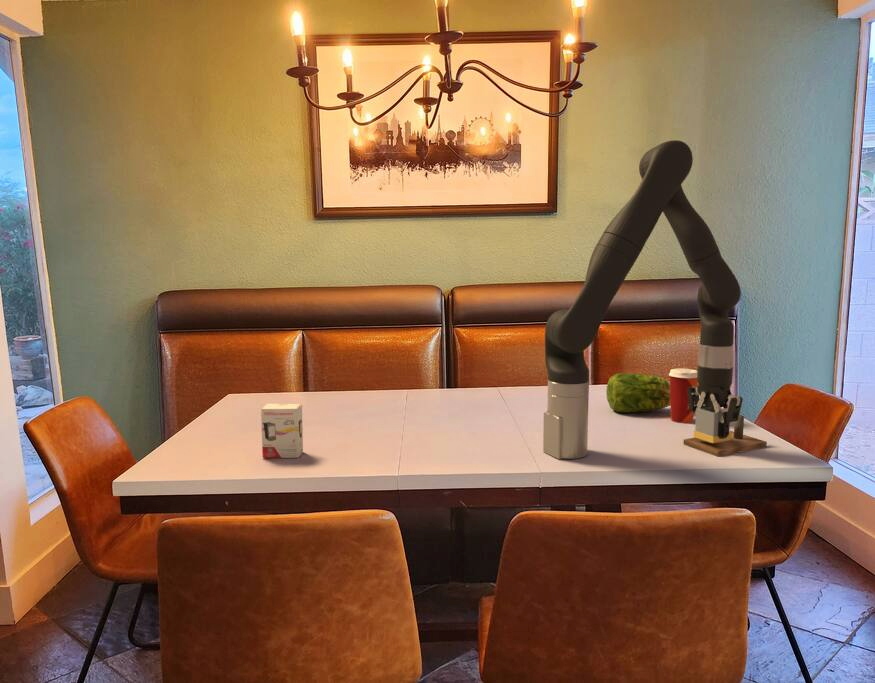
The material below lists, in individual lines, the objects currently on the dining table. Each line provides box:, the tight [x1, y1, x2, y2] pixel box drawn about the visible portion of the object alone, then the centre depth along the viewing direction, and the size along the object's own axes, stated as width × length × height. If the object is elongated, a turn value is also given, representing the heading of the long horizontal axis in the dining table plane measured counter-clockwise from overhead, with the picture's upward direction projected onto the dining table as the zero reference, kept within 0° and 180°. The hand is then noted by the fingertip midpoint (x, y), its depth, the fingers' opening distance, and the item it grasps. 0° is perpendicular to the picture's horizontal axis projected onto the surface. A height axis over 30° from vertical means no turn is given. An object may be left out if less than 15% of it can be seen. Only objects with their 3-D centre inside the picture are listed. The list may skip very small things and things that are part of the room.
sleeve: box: [693, 407, 731, 443], centre depth 142 cm, size 6×6×7 cm
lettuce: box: [605, 372, 671, 414], centre depth 176 cm, size 12×21×11 cm, turn 88°
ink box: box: [260, 403, 304, 459], centre depth 141 cm, size 9×5×12 cm, turn 89°
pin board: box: [682, 414, 768, 457], centre depth 145 cm, size 16×10×7 cm, turn 114°
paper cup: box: [668, 368, 698, 424], centre depth 166 cm, size 8×8×14 cm
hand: (711, 434), depth 143 cm, fingers closed on sleeve, 5 cm apart
